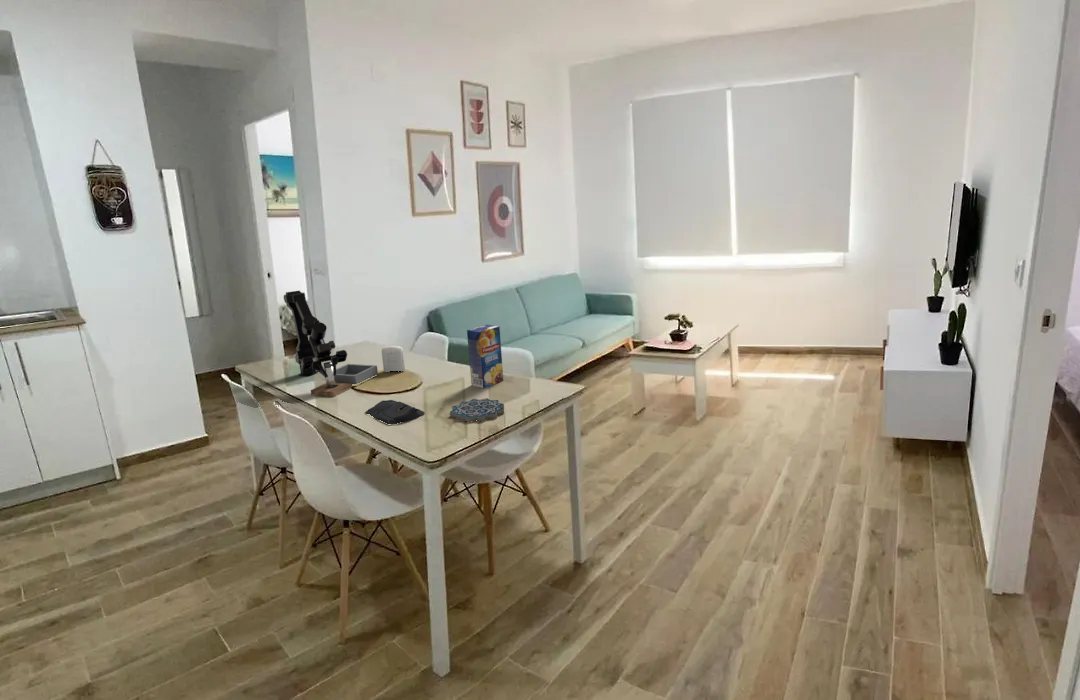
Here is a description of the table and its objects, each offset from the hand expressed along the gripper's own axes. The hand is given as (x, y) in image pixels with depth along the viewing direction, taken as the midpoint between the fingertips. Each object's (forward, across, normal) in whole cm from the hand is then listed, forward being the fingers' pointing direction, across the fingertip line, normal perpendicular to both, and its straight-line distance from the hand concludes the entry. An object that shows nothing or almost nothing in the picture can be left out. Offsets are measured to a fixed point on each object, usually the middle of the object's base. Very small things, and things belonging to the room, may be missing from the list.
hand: (330, 375), depth 260 cm
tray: (-2, +12, +13) cm, 18 cm away
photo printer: (-1, +32, +12) cm, 34 cm away
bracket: (+4, 0, +6) cm, 7 cm away
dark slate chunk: (+37, +9, -26) cm, 46 cm away
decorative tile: (+52, +33, -41) cm, 74 cm away
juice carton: (+32, +54, -22) cm, 66 cm away
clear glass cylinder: (+4, 0, +6) cm, 7 cm away
